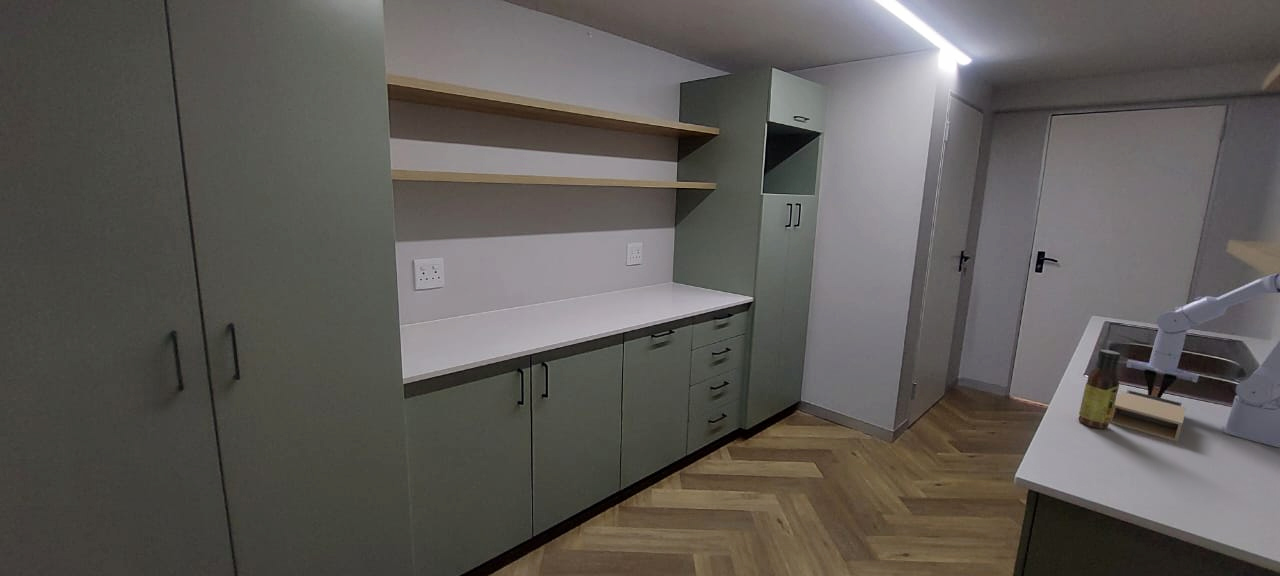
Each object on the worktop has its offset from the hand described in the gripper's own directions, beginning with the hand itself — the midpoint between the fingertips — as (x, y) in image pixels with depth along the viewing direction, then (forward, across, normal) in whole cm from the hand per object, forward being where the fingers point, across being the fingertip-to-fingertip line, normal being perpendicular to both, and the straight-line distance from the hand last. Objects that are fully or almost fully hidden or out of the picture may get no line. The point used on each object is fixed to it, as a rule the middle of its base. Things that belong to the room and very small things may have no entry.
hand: (1153, 397), depth 151 cm
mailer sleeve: (+3, 0, -18) cm, 19 cm away
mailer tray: (+2, 0, -8) cm, 9 cm away
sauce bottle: (+3, -9, -32) cm, 33 cm away
